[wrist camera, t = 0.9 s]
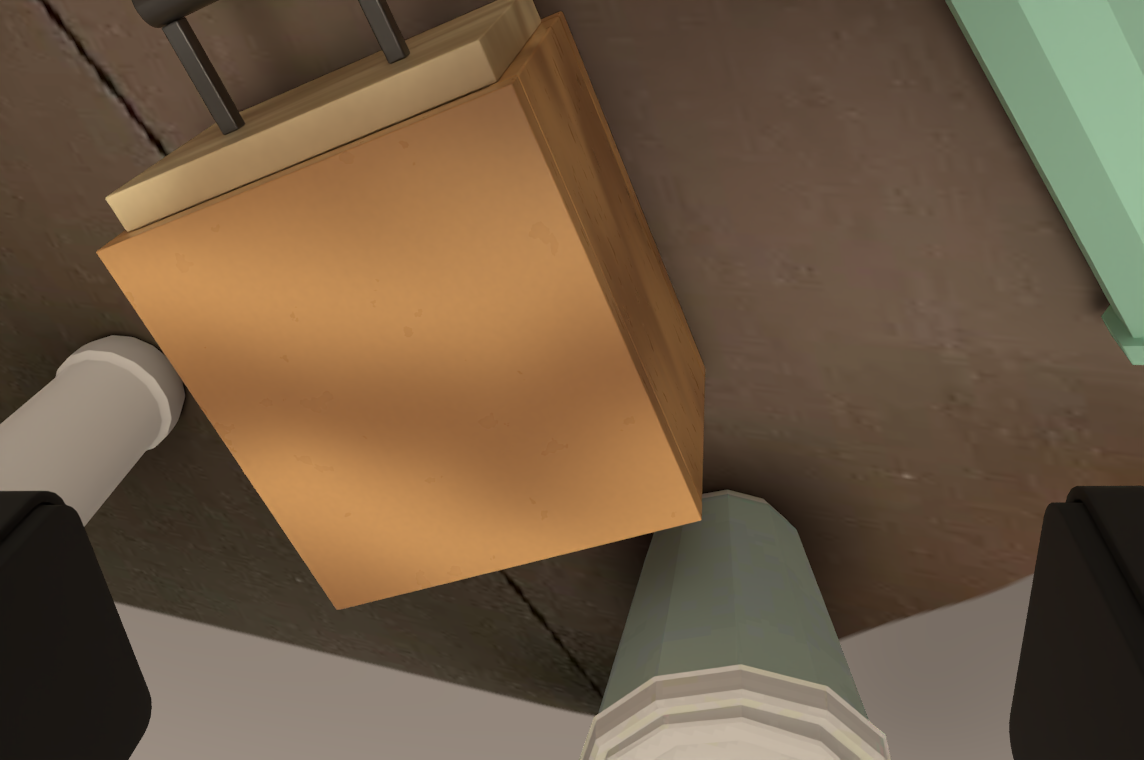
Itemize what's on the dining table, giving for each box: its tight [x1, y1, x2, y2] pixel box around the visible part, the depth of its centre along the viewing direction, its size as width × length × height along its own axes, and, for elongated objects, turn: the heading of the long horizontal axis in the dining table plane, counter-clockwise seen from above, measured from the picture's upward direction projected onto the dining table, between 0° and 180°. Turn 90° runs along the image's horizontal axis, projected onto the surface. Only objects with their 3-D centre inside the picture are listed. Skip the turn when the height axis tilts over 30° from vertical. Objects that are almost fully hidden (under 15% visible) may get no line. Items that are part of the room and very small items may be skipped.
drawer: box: [105, 0, 541, 232], centre depth 34 cm, size 18×13×8 cm
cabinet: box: [97, 11, 705, 610], centre depth 35 cm, size 15×14×10 cm
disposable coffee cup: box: [579, 490, 891, 760], centre depth 38 cm, size 11×11×15 cm
